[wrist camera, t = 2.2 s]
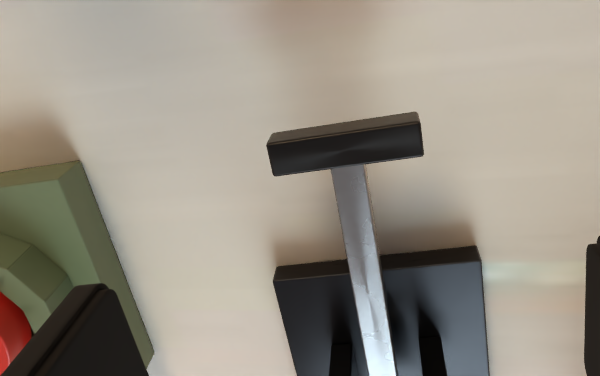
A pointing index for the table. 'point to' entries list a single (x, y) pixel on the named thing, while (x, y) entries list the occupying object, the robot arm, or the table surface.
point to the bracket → (402, 311)
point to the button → (12, 331)
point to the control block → (57, 245)
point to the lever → (355, 206)
